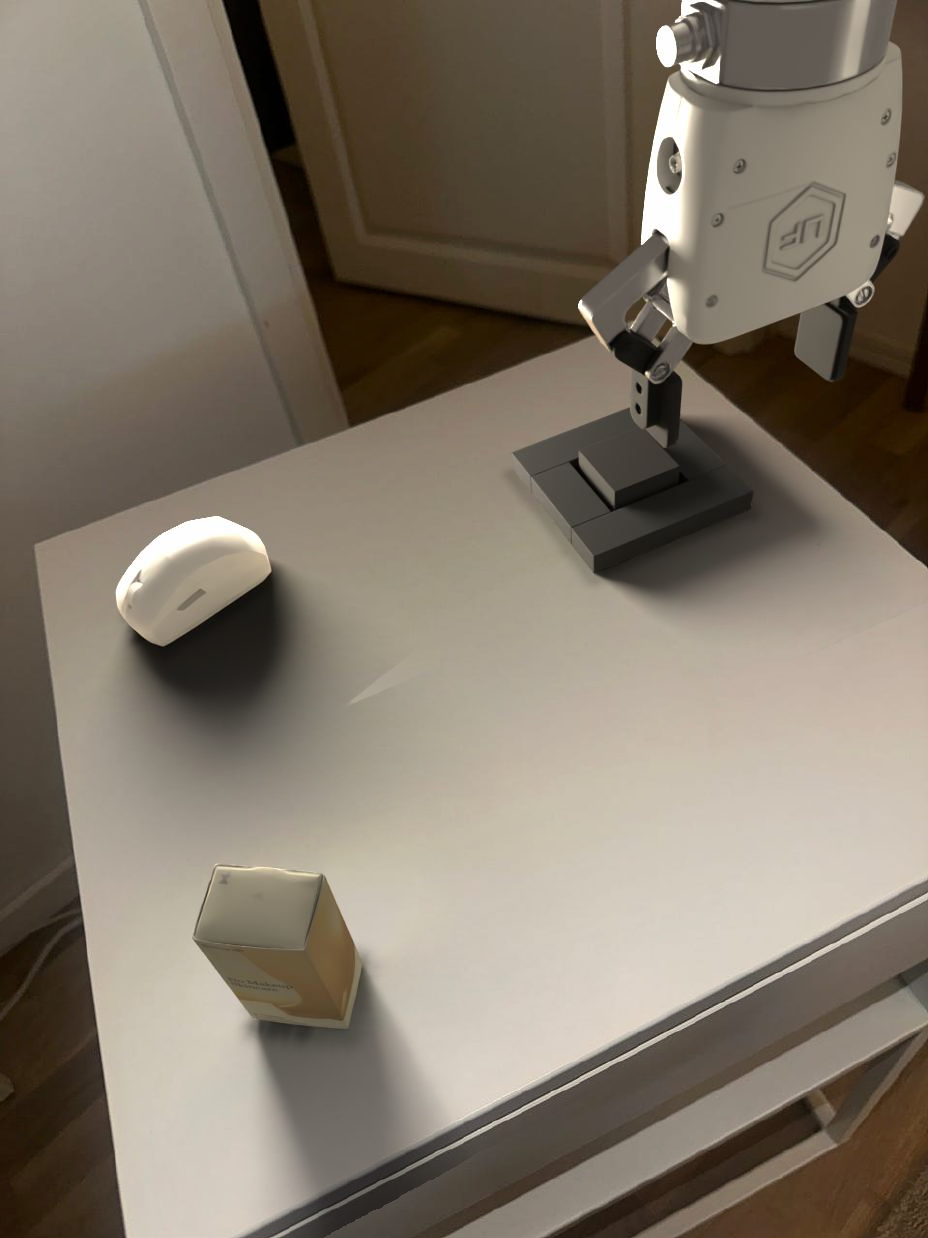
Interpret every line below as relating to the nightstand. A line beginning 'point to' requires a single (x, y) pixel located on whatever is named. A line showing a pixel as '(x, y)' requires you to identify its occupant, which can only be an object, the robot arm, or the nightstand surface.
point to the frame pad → (638, 526)
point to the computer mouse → (190, 577)
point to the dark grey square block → (627, 468)
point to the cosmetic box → (280, 944)
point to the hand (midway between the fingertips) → (737, 398)
